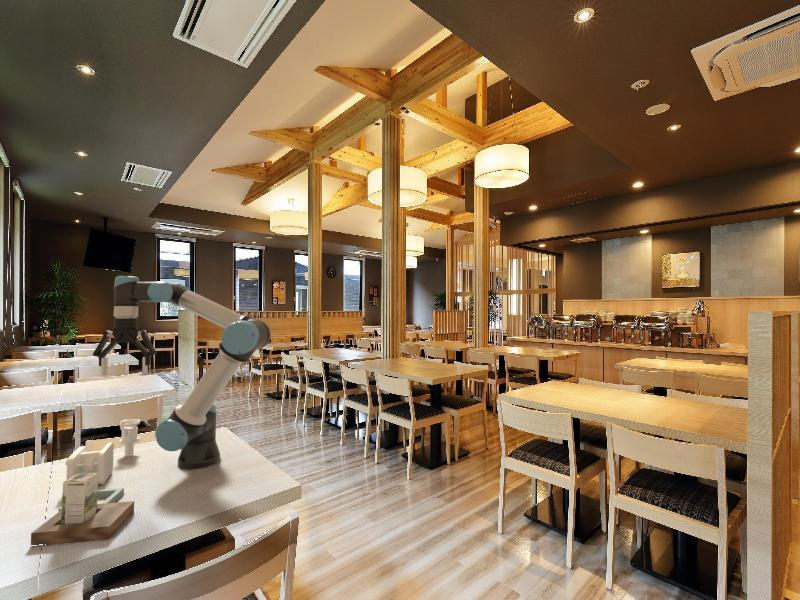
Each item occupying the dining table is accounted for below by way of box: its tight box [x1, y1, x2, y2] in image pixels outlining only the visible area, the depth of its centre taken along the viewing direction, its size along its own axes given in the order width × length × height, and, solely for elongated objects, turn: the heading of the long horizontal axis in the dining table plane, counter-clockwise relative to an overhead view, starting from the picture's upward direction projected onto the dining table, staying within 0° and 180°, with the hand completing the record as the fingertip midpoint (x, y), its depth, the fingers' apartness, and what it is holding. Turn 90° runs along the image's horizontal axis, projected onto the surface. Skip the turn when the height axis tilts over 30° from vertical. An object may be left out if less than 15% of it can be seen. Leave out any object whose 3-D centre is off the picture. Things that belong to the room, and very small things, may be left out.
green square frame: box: [58, 487, 125, 512], centre depth 124 cm, size 12×12×2 cm
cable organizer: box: [65, 441, 115, 486], centre depth 140 cm, size 15×11×12 cm
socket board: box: [30, 500, 135, 546], centre depth 110 cm, size 18×14×4 cm
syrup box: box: [61, 473, 99, 525], centre depth 110 cm, size 6×6×14 cm
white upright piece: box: [118, 419, 141, 457], centre depth 165 cm, size 7×7×15 cm
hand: (124, 374), depth 147 cm, fingers open, 13 cm apart
